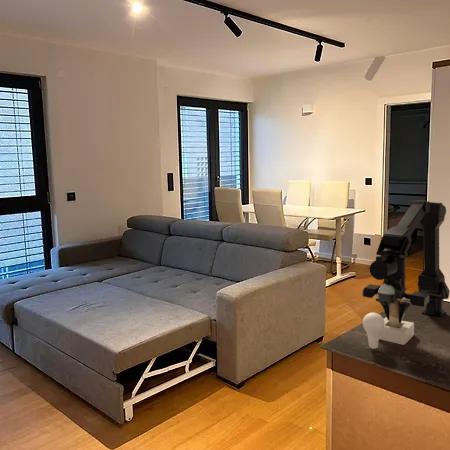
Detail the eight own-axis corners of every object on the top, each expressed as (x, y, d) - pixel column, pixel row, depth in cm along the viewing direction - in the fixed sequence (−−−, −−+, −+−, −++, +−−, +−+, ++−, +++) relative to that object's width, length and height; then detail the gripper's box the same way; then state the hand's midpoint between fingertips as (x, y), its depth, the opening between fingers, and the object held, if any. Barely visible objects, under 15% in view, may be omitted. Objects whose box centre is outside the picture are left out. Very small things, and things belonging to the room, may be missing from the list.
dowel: (391, 327, 144) (391, 297, 142) (401, 330, 142) (401, 299, 140) (387, 331, 141) (387, 300, 140) (397, 333, 139) (398, 302, 138)
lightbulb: (385, 353, 130) (386, 317, 129) (363, 352, 132) (363, 316, 130) (382, 344, 136) (383, 309, 134) (361, 344, 137) (361, 309, 136)
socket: (385, 329, 148) (385, 317, 147) (413, 335, 142) (414, 322, 142) (374, 338, 141) (374, 326, 141) (404, 344, 135) (404, 332, 135)
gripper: (355, 274, 138) (355, 323, 141) (418, 283, 127) (417, 336, 129) (369, 266, 147) (369, 312, 149) (430, 274, 135) (429, 324, 137)
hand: (394, 321), depth 141 cm, fingers closed on dowel, 3 cm apart
